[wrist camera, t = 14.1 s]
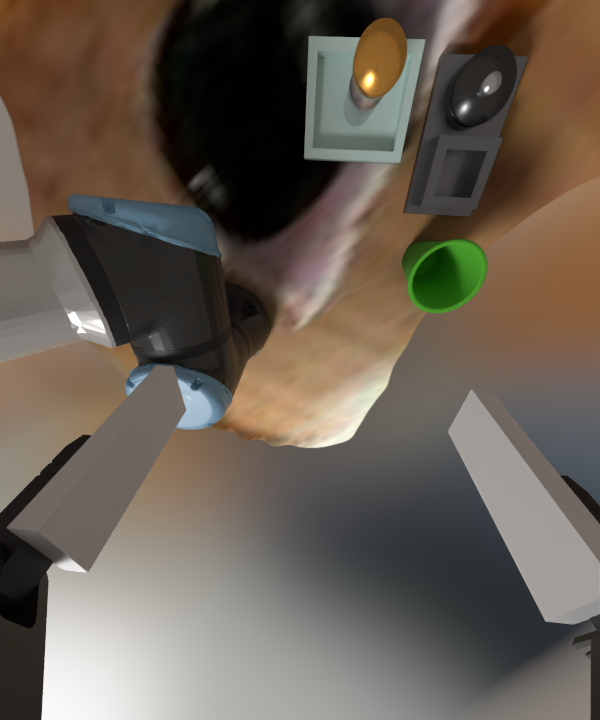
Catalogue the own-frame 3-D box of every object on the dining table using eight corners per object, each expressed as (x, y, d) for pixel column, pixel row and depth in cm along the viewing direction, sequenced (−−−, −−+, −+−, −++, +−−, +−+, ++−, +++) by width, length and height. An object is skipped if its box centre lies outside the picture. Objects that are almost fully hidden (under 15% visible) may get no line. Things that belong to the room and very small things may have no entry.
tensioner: (403, 212, 37) (413, 215, 33) (439, 57, 28) (459, 35, 24) (466, 215, 37) (484, 219, 32) (522, 60, 28) (556, 38, 24)
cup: (438, 212, 37) (477, 221, 28) (456, 267, 41) (495, 290, 31) (379, 249, 40) (396, 267, 31) (401, 296, 44) (422, 325, 35)
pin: (339, 127, 32) (350, 94, 20) (344, 84, 30) (358, 17, 18) (370, 129, 32) (399, 95, 20) (377, 85, 29) (413, 18, 18)
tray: (305, 159, 34) (304, 158, 32) (309, 46, 29) (308, 36, 27) (395, 163, 34) (400, 162, 32) (418, 50, 28) (425, 39, 26)
